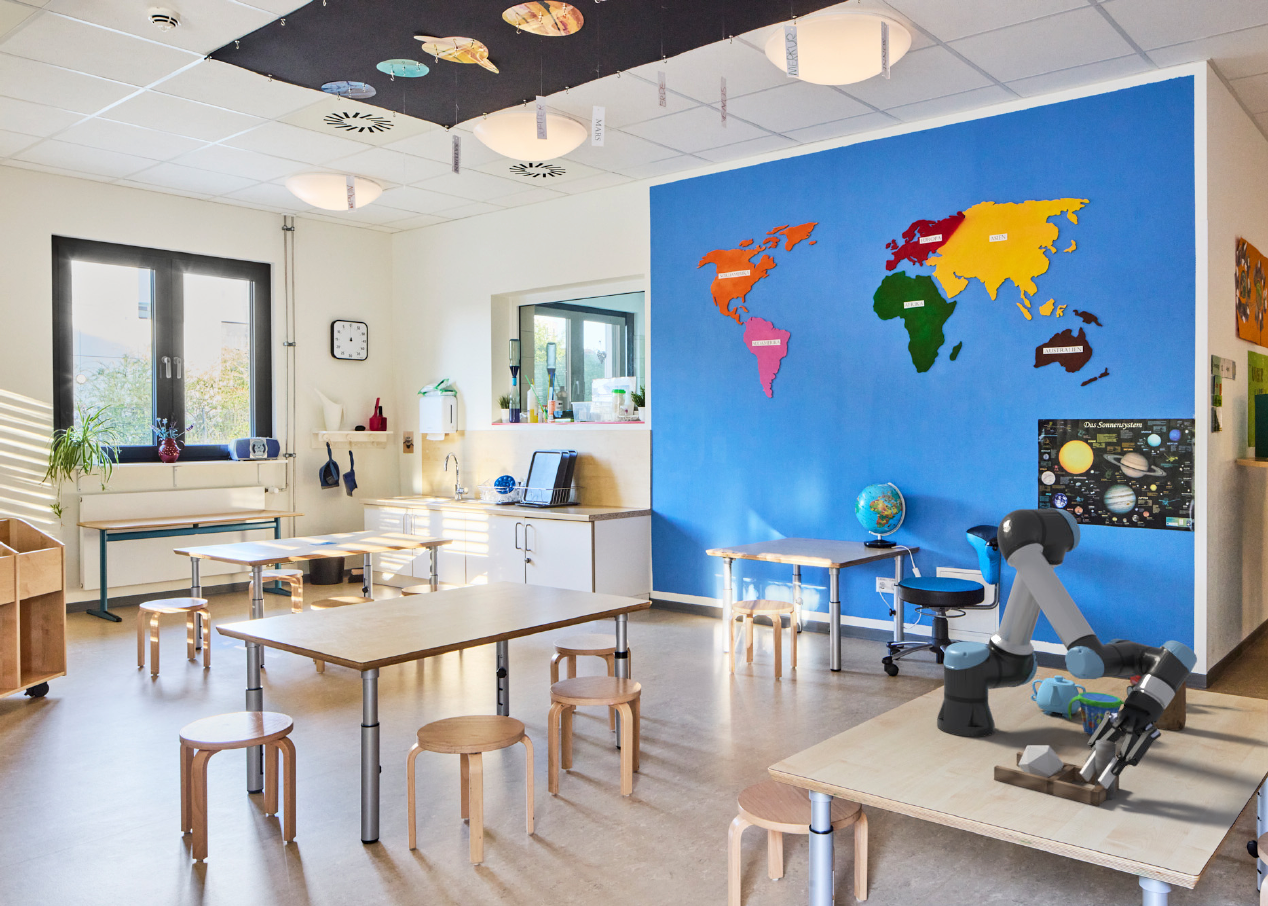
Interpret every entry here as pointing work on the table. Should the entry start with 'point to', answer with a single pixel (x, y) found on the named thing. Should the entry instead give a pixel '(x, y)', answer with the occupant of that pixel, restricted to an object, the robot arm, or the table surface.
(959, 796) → the table surface
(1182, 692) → the block
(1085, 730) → the snack cup
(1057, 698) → the teapot
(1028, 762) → the die
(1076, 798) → the frame
